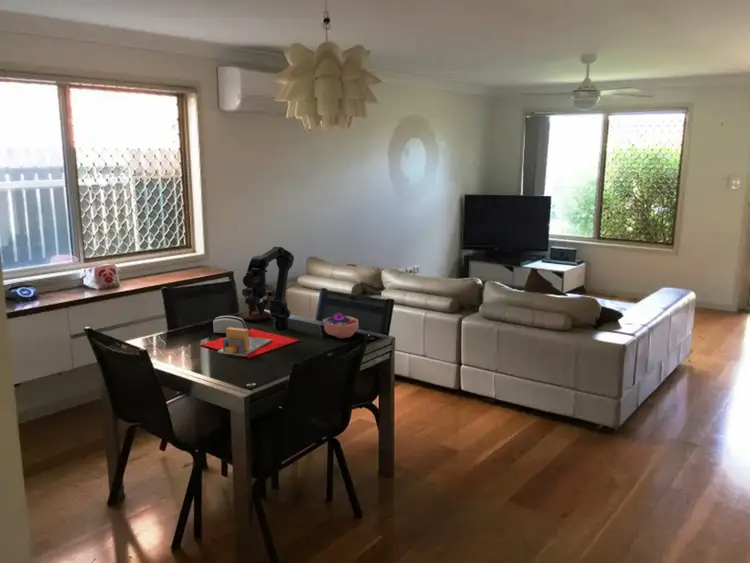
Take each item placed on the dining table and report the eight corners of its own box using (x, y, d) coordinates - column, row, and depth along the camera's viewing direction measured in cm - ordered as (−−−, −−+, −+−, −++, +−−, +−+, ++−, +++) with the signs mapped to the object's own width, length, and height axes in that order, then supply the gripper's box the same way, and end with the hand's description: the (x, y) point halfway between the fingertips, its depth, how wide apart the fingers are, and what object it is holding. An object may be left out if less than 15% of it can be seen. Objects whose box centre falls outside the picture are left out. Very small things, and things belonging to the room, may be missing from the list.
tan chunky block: (230, 345, 296) (229, 327, 294) (249, 348, 292) (248, 329, 290) (219, 351, 287) (218, 332, 286) (238, 354, 284) (237, 334, 282)
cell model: (328, 344, 302) (328, 321, 300) (320, 332, 321) (319, 310, 318) (363, 341, 307) (362, 318, 304) (352, 329, 325) (352, 308, 323)
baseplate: (247, 338, 312) (246, 325, 310) (272, 341, 307) (271, 327, 305) (218, 353, 290) (217, 338, 289) (244, 356, 285) (243, 342, 284)
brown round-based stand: (257, 324, 336) (255, 287, 332) (237, 320, 344) (235, 284, 340) (276, 318, 348) (274, 282, 344) (256, 314, 356) (254, 279, 352)
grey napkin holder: (248, 331, 324) (245, 314, 319) (245, 336, 320) (242, 320, 315) (217, 329, 327) (213, 313, 322) (213, 335, 323) (210, 319, 318)
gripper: (255, 278, 317) (257, 308, 321) (234, 285, 300) (236, 317, 304) (275, 279, 313) (276, 310, 317) (254, 287, 296) (256, 319, 300)
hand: (261, 314), depth 309 cm, fingers closed
